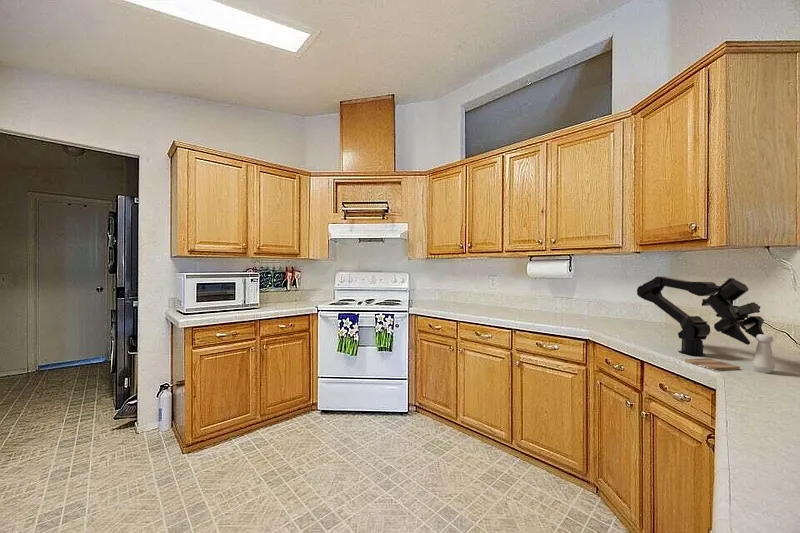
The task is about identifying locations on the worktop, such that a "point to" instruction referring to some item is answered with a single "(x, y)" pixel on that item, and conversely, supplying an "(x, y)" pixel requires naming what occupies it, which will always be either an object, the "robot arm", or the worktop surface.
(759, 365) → the salt shaker
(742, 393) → the worktop surface
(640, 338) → the worktop surface
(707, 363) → the board
